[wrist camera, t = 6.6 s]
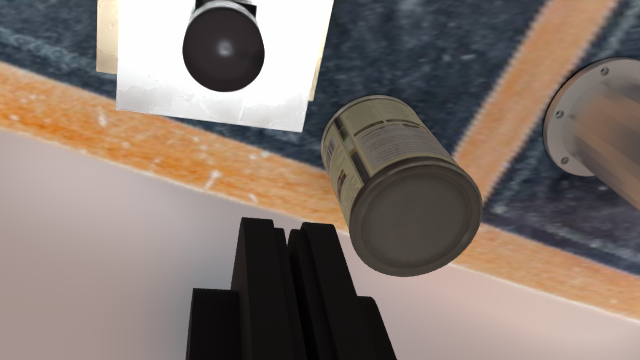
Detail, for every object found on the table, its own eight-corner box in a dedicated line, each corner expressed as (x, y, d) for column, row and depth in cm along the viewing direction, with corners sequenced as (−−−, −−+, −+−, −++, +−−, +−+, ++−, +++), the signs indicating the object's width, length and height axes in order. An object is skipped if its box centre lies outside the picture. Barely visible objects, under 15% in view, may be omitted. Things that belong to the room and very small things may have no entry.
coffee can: (432, 169, 56) (492, 251, 44) (337, 203, 56) (369, 294, 44) (411, 77, 51) (472, 142, 39) (306, 115, 51) (333, 191, 39)
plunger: (278, -55, 38) (313, -12, 23) (263, 42, 41) (286, 132, 27) (176, -76, 36) (148, -43, 22) (168, 27, 39) (139, 114, 25)
